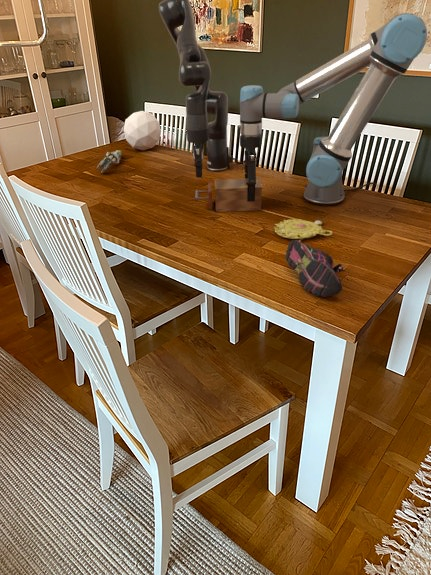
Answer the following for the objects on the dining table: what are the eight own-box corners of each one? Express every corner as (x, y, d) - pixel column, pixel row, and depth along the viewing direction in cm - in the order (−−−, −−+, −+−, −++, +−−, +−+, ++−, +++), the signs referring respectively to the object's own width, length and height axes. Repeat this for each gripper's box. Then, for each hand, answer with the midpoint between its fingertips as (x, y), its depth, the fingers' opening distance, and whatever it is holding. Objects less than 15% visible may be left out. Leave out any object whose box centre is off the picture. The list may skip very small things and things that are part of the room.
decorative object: (286, 211, 157) (342, 219, 147) (286, 217, 158) (341, 226, 148) (260, 233, 142) (319, 243, 133) (260, 240, 144) (319, 251, 134)
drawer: (195, 209, 163) (194, 191, 159) (195, 200, 170) (194, 183, 167) (250, 207, 163) (250, 189, 159) (248, 198, 171) (248, 181, 167)
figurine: (101, 154, 197) (119, 141, 223) (91, 167, 200) (110, 152, 227) (114, 165, 199) (130, 151, 225) (103, 178, 203) (121, 162, 229)
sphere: (136, 161, 242) (117, 128, 240) (167, 143, 245) (148, 111, 242) (135, 152, 224) (114, 116, 221) (169, 133, 226) (148, 97, 223)
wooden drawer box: (216, 212, 163) (215, 188, 158) (215, 201, 172) (214, 179, 167) (261, 210, 163) (261, 187, 158) (258, 200, 172) (258, 177, 167)
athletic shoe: (328, 286, 106) (368, 278, 110) (289, 224, 118) (325, 219, 122) (312, 314, 115) (349, 305, 119) (276, 254, 127) (311, 248, 131)
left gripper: (187, 122, 158) (189, 167, 166) (185, 132, 146) (188, 180, 154) (208, 122, 158) (209, 167, 166) (208, 131, 146) (209, 179, 154)
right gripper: (237, 127, 163) (237, 185, 175) (242, 143, 144) (242, 207, 155) (257, 126, 163) (256, 184, 175) (265, 142, 144) (263, 206, 156)
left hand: (199, 173), depth 160 cm, fingers open, 8 cm apart
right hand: (249, 195), depth 165 cm, fingers open, 10 cm apart
